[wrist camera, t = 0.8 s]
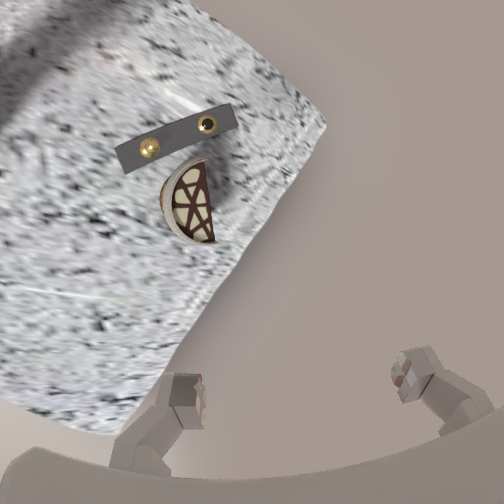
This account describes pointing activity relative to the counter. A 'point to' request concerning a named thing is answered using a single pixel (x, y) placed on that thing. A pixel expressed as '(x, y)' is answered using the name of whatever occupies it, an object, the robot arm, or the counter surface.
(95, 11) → the counter surface
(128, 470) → the robot arm
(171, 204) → the food container
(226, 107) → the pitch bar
